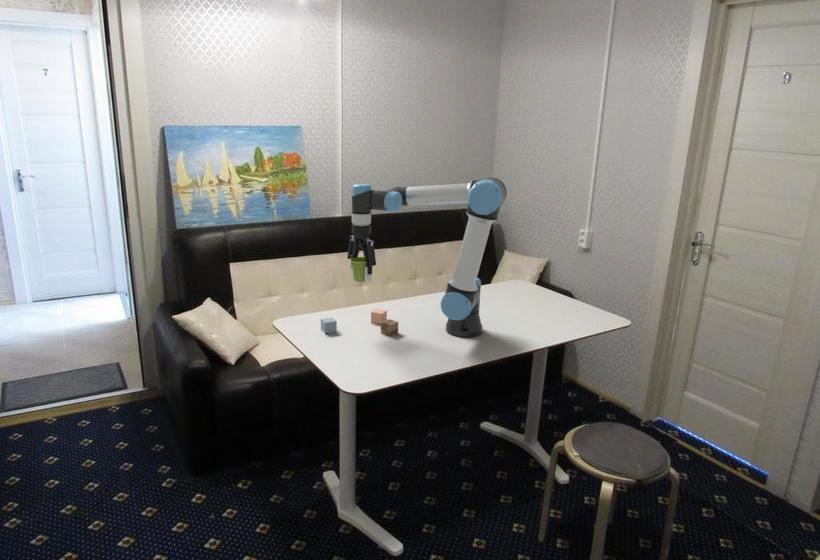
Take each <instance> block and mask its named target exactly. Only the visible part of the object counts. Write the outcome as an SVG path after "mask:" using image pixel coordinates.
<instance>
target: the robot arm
mask: <svg viewBox="0 0 820 560" xmlns="http://www.w3.org/2000/svg"><path fill="white" fill-rule="evenodd" d="M507 194H508V193H507V187H506V185H505V183H504V182H503V181H502V180H501V179H499V178H497V177H492V176H491V177H486V178H481V179H474V180H473V179H472V180H471V181H469V182H468V183H467V182H466V183H452V184H451V183H449V184H436V185H435V184H434V185H432V184H431V185H417V186H416V185H415V186H394V187H392V188H389V189H387V190H373V189H372V185H371V184H367V183H356V184H353V185H352V187H351V195H350V197H351V223H352V224H351V233H352V234H353V235H349V236H348V249H347V257H346V258H347V260H350V259H351V258H356V257H359V255H360V254H359V253H360V251H362V253H363V257H364V258H365V262H366V265H367V266H365V282H364V283H371V282H372V281H373V280H372V279H373V278H372V274H373V267H374V266H376V265H377V261H376V260H377V259H376V252H375V244H376V243H375V240H374V239H372V240H371V239H370V235H371V233H372V225H371V223H372V211H374V210H375V211H384V212H385V211H386V212H399V211H400V210H401V209H402V207H407V206H409V207H410V206H424V205H425V206H428V205H429V206H430V205H450V204H452V205H453V204H454V205H455V204H467V206H466V211H465V213H466V215H467V217H468V220H467V224H466V226H465V227H466V228H465V232H464V235H463V238H462V239H463V240H462V243H461V247H460V251H459V255H458V259H457V262H456V267H455V271H454V274H453V277H451V278H450V279H448V281H447V286H446V287H445V288H446V289H445V293H444V295H443V296H442V297H441V300H440V309H441V312H442V313H443V315H444V316H445V317H446V318H448V319H447V322H446V324H445V332H446V333H448V334H449V335H451V336H453V337H454V336H455V337H458V338H459V337H460V338H461V337H462V338H473V337H478V336H480V335H481V334H482V333H483V329H484V328H483V324H482V321H481V317H480V305H481V303H480V301H481V288H482V281H481V279H480V278H478V274H479V271H480V267H481V263H482V260H483V255H484V253H485V249H486V246H487V242H488V238H489V235H490V230H491V227H492V224H493V223H494V222H497V221H498V217H499V213H500V209H501V207H502V205H503V203H504V202H505V201H506V199H507ZM350 268H351V278H352V279H354V277H353V270H352V265H351V264H350Z"/></svg>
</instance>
